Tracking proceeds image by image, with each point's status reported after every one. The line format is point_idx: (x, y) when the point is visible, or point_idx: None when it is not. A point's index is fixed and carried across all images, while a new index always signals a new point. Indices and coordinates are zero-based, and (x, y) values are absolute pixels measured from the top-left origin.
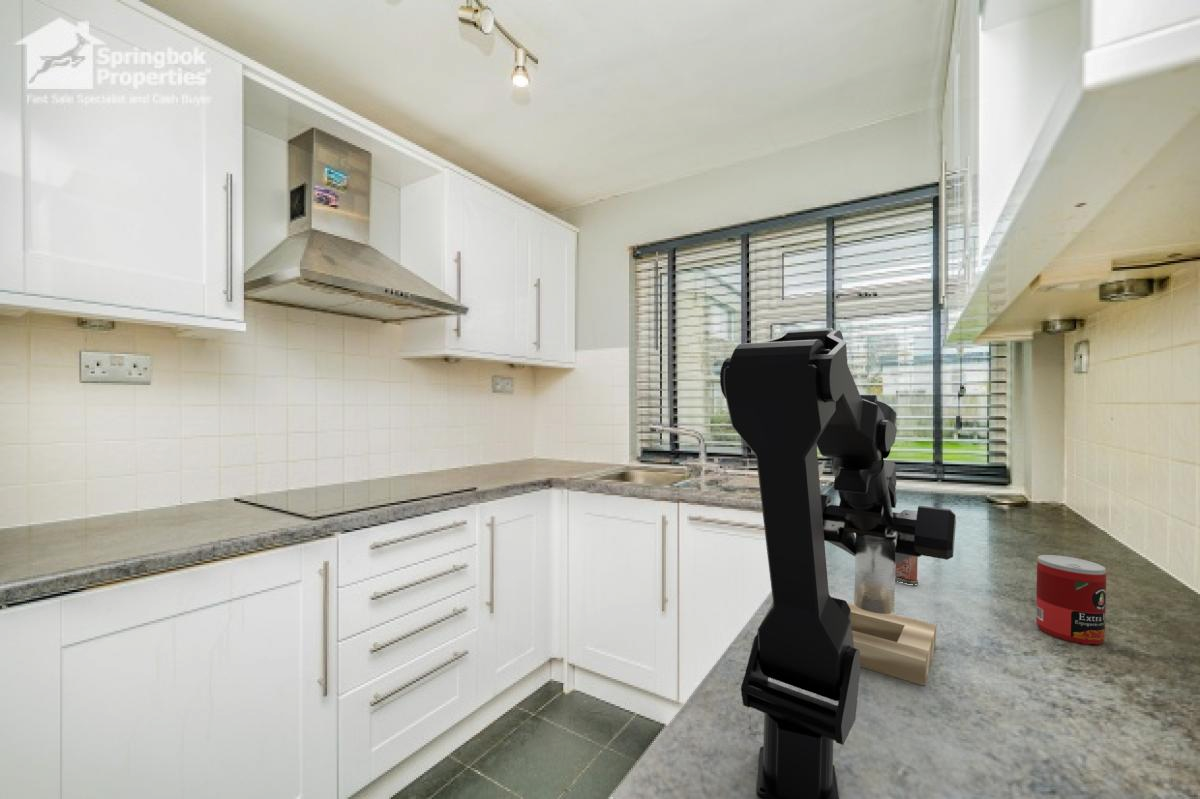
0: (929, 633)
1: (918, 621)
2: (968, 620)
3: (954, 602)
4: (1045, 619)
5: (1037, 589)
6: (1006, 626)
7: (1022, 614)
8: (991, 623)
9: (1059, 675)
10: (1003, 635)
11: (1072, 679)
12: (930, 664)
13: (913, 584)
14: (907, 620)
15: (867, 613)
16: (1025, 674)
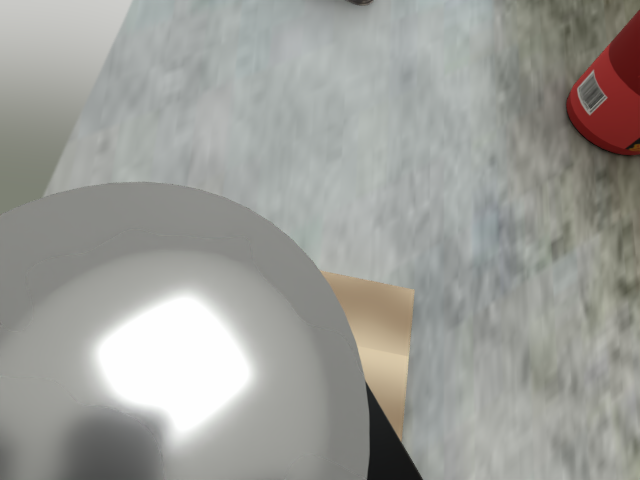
0: (397, 372)
1: (373, 291)
2: (458, 131)
3: (435, 54)
4: (598, 115)
5: (625, 49)
6: (519, 130)
7: (540, 63)
8: (496, 127)
9: (612, 333)
10: (516, 177)
11: (632, 341)
12: None
13: (367, 1)
14: (347, 300)
15: None
16: (560, 367)
